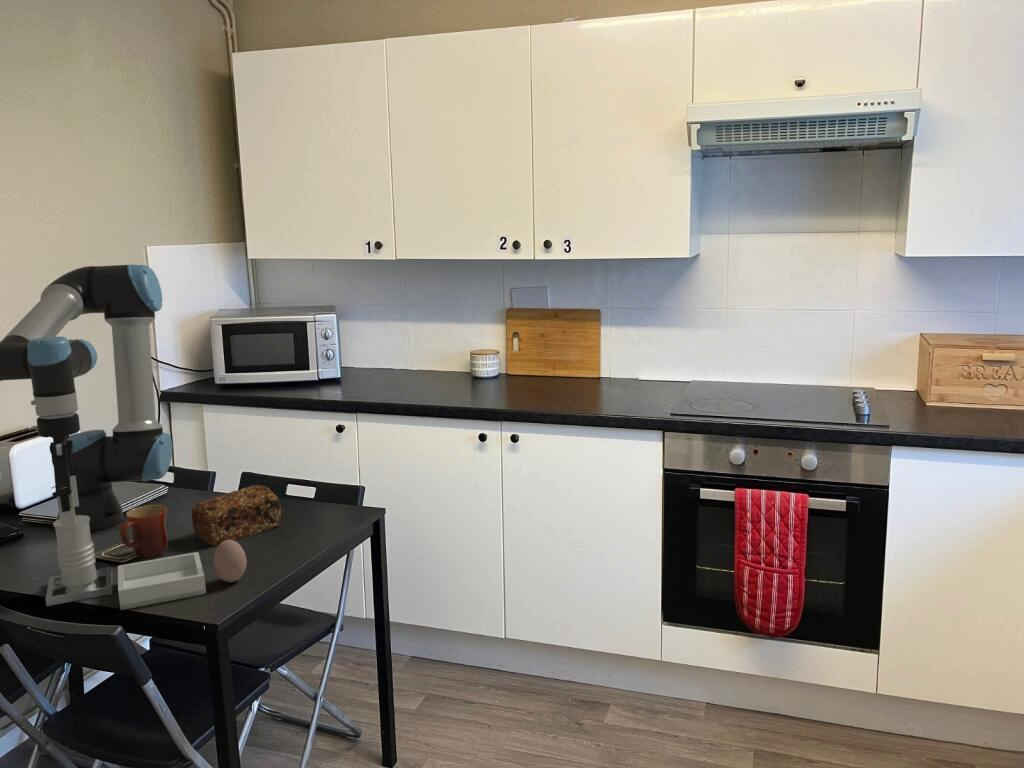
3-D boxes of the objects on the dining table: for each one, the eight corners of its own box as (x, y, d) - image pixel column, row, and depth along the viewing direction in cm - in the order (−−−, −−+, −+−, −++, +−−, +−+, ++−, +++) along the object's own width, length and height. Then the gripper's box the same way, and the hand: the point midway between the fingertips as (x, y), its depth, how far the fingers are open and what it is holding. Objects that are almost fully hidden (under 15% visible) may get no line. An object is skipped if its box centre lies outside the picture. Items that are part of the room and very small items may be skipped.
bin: (120, 583, 182) (117, 565, 182) (200, 569, 189) (198, 551, 188) (120, 610, 170) (118, 591, 169) (206, 593, 176) (204, 575, 175)
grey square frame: (50, 583, 183) (49, 577, 183) (112, 573, 188) (111, 566, 188) (46, 606, 173) (45, 599, 172) (112, 594, 177) (111, 587, 177)
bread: (262, 517, 221) (259, 480, 219) (284, 527, 213) (280, 488, 211) (192, 538, 208) (187, 498, 206) (212, 549, 201) (208, 508, 199)
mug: (150, 544, 204) (145, 503, 202) (180, 548, 201) (175, 506, 199) (110, 563, 193) (105, 520, 191) (140, 568, 190) (135, 524, 188)
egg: (254, 576, 184) (250, 536, 182) (235, 589, 178) (231, 547, 176) (228, 573, 186) (224, 533, 184) (208, 585, 180) (204, 544, 178)
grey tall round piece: (100, 579, 185) (92, 513, 182) (96, 592, 178) (87, 523, 175) (65, 585, 182) (55, 517, 180) (59, 598, 176) (50, 528, 173)
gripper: (40, 405, 183) (53, 501, 187) (30, 429, 160) (45, 538, 164) (80, 401, 186) (92, 496, 190) (75, 424, 163) (88, 531, 167)
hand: (70, 516), depth 177 cm, fingers open, 13 cm apart
